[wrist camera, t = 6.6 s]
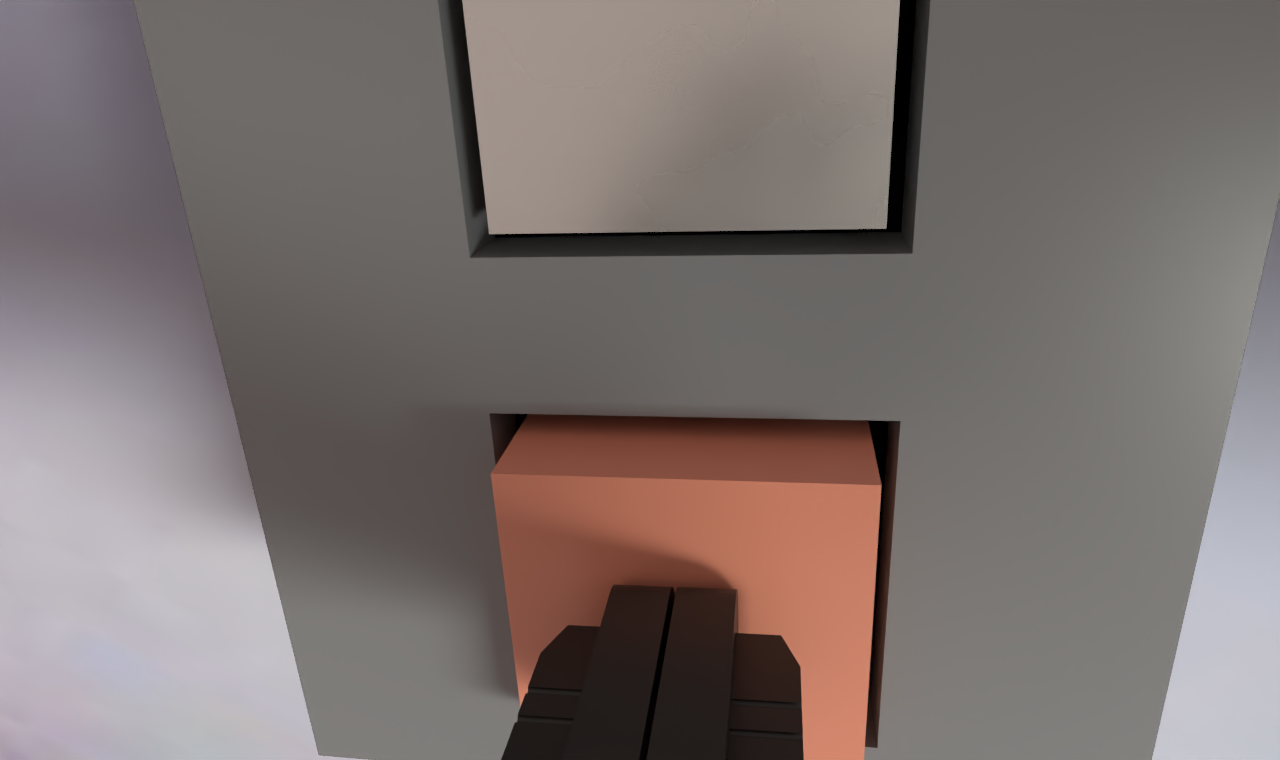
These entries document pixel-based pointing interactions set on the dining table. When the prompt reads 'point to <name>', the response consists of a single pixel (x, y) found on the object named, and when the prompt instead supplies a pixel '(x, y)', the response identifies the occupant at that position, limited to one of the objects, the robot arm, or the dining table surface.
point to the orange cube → (702, 538)
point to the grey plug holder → (745, 351)
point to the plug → (683, 113)
